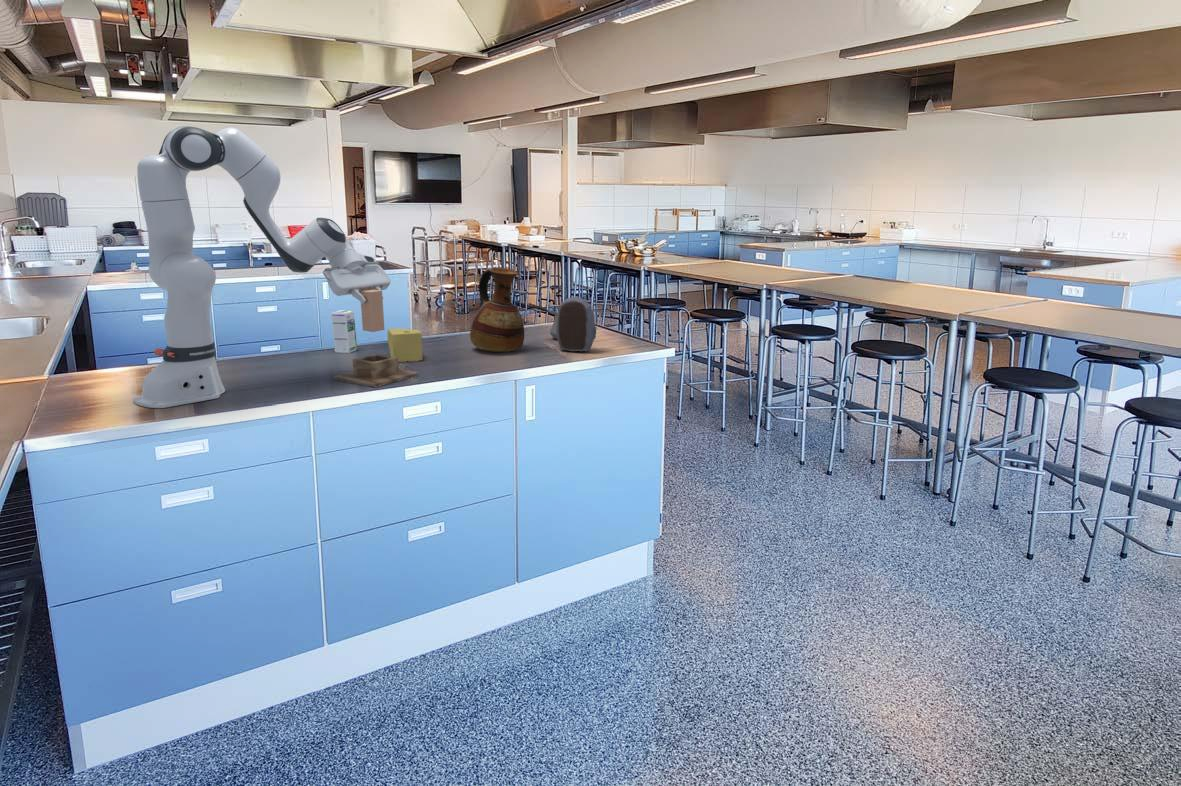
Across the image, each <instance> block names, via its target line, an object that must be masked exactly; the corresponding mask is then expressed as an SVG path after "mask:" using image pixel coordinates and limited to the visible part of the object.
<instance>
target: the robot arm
mask: <svg viewBox="0 0 1181 786" xmlns="http://www.w3.org/2000/svg"><path fill="white" fill-rule="evenodd" d="M215 166H219V167H221V168H223V170H225V171H226V172H227V173H228V174H229V175H230V176H231V177H232V178H233V179H234V180H235V181H236V182H237V183H238V184H239V186H240V187H241V191H243V195H244V197H243V200H242V201H243V205H244V207H245V209H246V211H247V213H248V214H249V215H250V217H251V218H252V219H253V221H254V222H255V223H256V225H257V226H258V228H259V229H260V231H261V232H262V234H263V235H264V236H265V238H266V239H267V240H268V241H269V243H270V244H271V245H272V247H273V248H274V249H275V251H276V253H277V254H278V255H279V257H280V259H281V261H282V262H283V263H284V265H285V266H286V268H288V269H289V270H290V271H291V272H293V273H298V274H299V273H304V274H305V273H308V272H309V271H310V270H311V269H312V268H313V267H315V266H316V264H317V263H318V262H320V261H321V260H322V259H323V258H325V259H327V260H328V263H329V266H330V267H327V268H325V269H324V270H323V271H322V274H323V276H324V278H325V279H326V281H327V284H328V287H329V288H330V290H331V291H332V293H333V294H334V295H335V296H337V297H343V296H347V295H351V296H352V298H353V297H354V298H355V299H356V300H358V301H359V302H360V304H361V303H362V304H365V303H367V302H368V299H367V297H366V296H363V295H362V294H360V291H364V290H371V289H373V290H381V291H385V290H388V288H389V286H390V285H391V278H390V277H389V275H388V274H387V272H386V271H385V270H384V268H382V266H381V265H380V264H377V263H378V260H377V259H376V257H373V256H370V255H366V254H362V253H359V252H357V251H356V250H355V249H354V248H353V247H352V245H351V243H350V240H349V239H348V238H347V237H346V234H345V233H344V231H343V230H342V228H341V227H340V226H339V224H337V222H335V221H334V220H332V219H330V218H327V217H317V218H314V219H313V220H312V221H311V222H310V223H308V224H307V225H305V226H304V227H303V228H302V229H301V230H300V231H298V232H297V233H296V234H294V235H293V237H290V238H288V237H286V236H285V234H284V233H283V232H282V230H281V229H280V228H279V226H278V225H277V223H276V222H275V221H274V219H273V218H272V216H271V215H270V208H271V207H270V206H271V204H272V202H273V200H274V198H275V196H276V195H277V192H278V190H279V186H280V185H281V172H280V169H279V167H278V165H276V163H275V162H274V161H273V159H272V158H271V157H270V156H269V155H268V154H267V153H266V152H265V151H264V150H263V148H261V147H260V146H259V145H258V144H257V143H256V142H255V141H254V140H252V139H251V138H250V137H249V136H248V135H246V134H245V133H244V132H242V131H241V130H240V129H238V128H236V127H226V128H223V129H221V130H219V131H218V132H216V133H213V132H210V131H208V130H205V129H202V128H199V127H195V126H187V125H185V126H178V127H176V128H174V129H172V130H170V131H169V132H168V133H167V134H166V135H165V137H164V139H163V142H162V145H161V147H160V150H159V153H158V154H153V155H147V156H146V157H144V158H142V159H140V161H139V162H138V164H137V168H136V169H137V172H136V173H137V187H138V192H139V198H140V201H141V208H142V211H143V216H144V220H145V224H146V230H147V236H148V237H147V238H148V255H149V265H148V275H149V276H150V279H151V280H152V281H153V282H154V283H155V285H156V286H157V287H159V288H160V289H162V290H164V291H166V292H167V293H166V294H167V302H166V312H165V314H164V318H163V320H164V327H165V335H166V340H167V341H166V342H167V344H166V347H165V348H164V349H163V348H159V347H157V348H154V350H153V354H154V355H155V356H159V357H162V361H161V362H159V363H158V365H156V367H154V369H152V370H151V371H150V372H149V373H148V374H147V375H145V377H144V378H143V380H142V384H141V385H142V386H141V395H140V394H139V395H137V396H134V397H133V403H134V404H135V405H138V406H141V407H145V408H150V409H165V408H171V407H177V406H182V405H186V404H192V403H193V404H194V403H198V402H204V401H209V400H215V399H219V398H220V396H221V395H222V394H224V393H225V392H226V389H225V386H224V384H223V382H222V379H221V376H220V373H219V370H218V369H219V368H218V366H217V350H216V349H217V348H216V344H215V342H214V341H213V333H212V326H211V325H212V323H211V302H212V291H213V288H214V286H215V284H216V280H217V279H216V276H217V275H216V272H215V270H214V268H213V266H212V265H211V264H210V263H209V262H208V261H206V260H205V259H203V258H202V257H200V256H197V255H195V254H194V248H193V246H194V245H193V244H194V232H195V230H196V229H195V228H196V226H195V223H194V218H193V217H194V216H193V211H192V207H191V204H190V198H189V193H188V191H187V184H186V183H187V176H188V175H189V173H190V172H198V171H204V170H207V169H210V168H212V167H215ZM382 298H383V299H384V296H383V295H382Z"/></svg>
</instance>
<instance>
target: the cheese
mask: <svg viewBox="0 0 1181 786" xmlns="http://www.w3.org/2000/svg"><path fill="white" fill-rule="evenodd" d="M422 338H423V337H422V332H421V331H420V330H419V329H410V328H398V327H397V328H388V329H387V343H388V349H389V354H390V355H389V356H391V357H396V358H398V363H404V362H407V361H408V362H419V360H422V361H423V341H422V340H423V339H422Z"/></svg>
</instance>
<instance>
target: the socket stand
mask: <svg viewBox="0 0 1181 786" xmlns="http://www.w3.org/2000/svg"><path fill="white" fill-rule="evenodd" d="M352 369H353V371H348V372H343V373H341V374H340V373H339V374H336V375H333V376H332V379H333V380H336V381H341V382H346V383H351V384H354V383H356V384H355V385H359V384H362V385H361V386H363V385H367V386H366V387H368V386H373V387H375V386H379V385H383V386H385V385H384V384H387V385H390V384H394V383H398V382H401V381H404V379H405V380H408V379H407V378H409V379H412V378H411V377H413V378H416V377H419V376H418V375H419V372H416V371H412V370H406V369H402V368H399V362H398V358H396V357H391V355H384V354H379V353H374V354H370V355H366V356H362V357H357V358H352ZM415 376H416V377H415ZM397 381H398V382H397ZM393 382H394V383H393ZM389 383H390V384H389ZM373 387H372V388H373ZM379 387H380V386H379ZM375 388H376V387H375Z"/></svg>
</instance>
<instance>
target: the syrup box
mask: <svg viewBox="0 0 1181 786" xmlns="http://www.w3.org/2000/svg"><path fill="white" fill-rule="evenodd" d="M355 320H356V319H355V311H354V310H351V309H350V310H349V309H348V310H347V309H342V310H341V309H340V310H337V311H334V312H331V324H332V333H333V334H332V335H333V345H334V352H335V353H339V354H351V353H353V352H356V351H357V350H358V345H357V331H356V322H355ZM356 345H357V346H356Z"/></svg>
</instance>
